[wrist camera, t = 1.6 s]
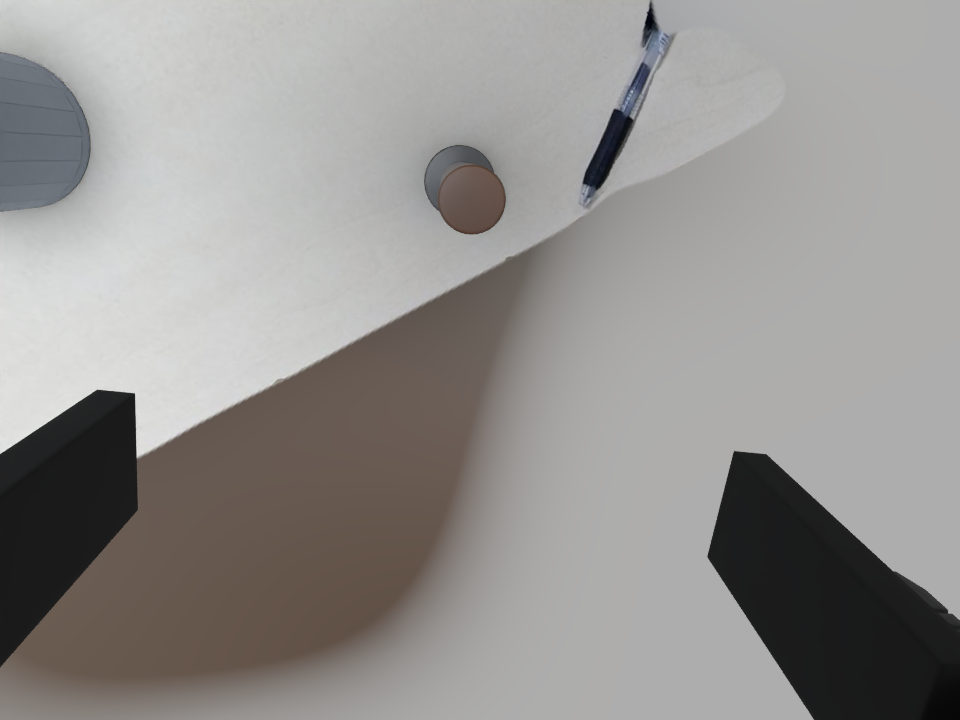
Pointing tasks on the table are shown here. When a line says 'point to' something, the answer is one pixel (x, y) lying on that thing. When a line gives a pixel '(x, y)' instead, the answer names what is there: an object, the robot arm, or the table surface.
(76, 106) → the grey cylindrical holder
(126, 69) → the table surface
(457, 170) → the brown and grey rod
